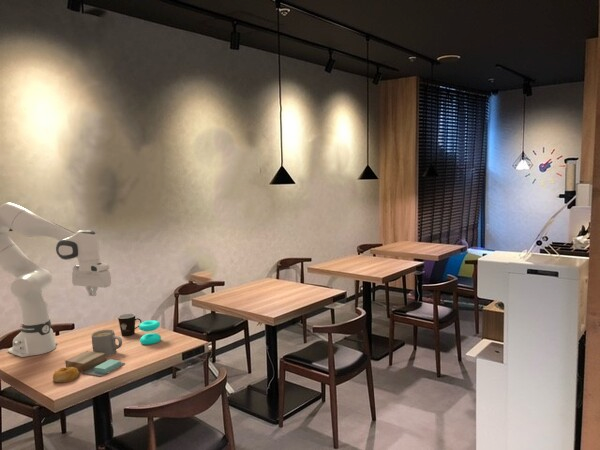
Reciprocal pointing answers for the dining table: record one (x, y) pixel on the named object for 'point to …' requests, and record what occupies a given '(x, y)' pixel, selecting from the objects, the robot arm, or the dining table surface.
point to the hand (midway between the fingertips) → (92, 295)
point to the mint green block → (107, 366)
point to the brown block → (86, 360)
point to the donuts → (150, 337)
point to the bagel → (65, 374)
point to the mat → (91, 372)
